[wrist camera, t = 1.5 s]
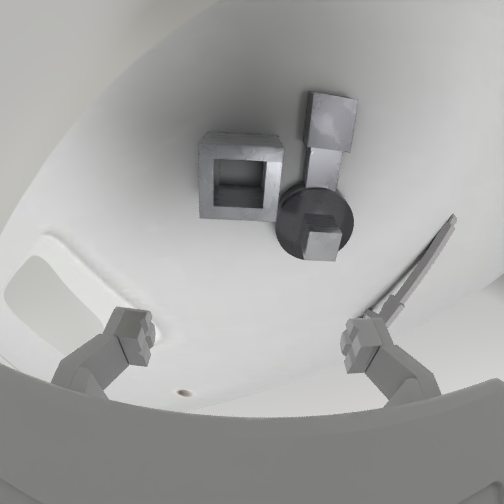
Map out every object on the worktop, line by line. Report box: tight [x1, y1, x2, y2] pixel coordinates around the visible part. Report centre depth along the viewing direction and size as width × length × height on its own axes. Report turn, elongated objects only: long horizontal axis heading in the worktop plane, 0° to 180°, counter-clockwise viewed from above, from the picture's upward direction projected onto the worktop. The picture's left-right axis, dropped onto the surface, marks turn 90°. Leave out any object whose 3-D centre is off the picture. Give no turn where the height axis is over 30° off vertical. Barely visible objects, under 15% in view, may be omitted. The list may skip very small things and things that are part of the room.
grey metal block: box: [199, 132, 284, 222], centre depth 25 cm, size 7×7×5 cm
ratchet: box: [275, 91, 358, 261], centre depth 25 cm, size 17×8×6 cm, turn 177°
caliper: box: [359, 214, 457, 328], centre depth 32 cm, size 20×1×6 cm, turn 151°
